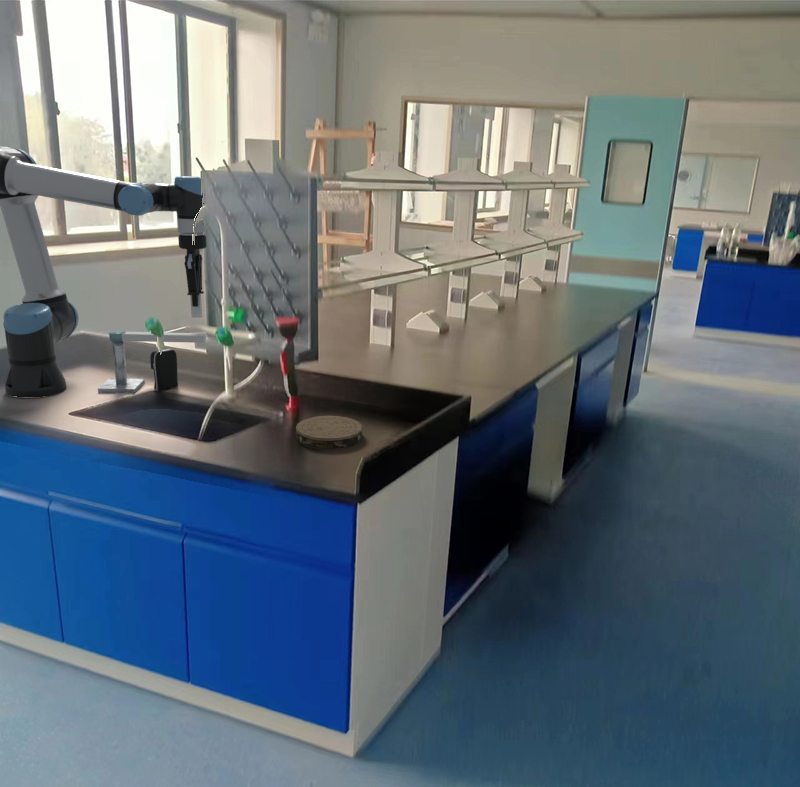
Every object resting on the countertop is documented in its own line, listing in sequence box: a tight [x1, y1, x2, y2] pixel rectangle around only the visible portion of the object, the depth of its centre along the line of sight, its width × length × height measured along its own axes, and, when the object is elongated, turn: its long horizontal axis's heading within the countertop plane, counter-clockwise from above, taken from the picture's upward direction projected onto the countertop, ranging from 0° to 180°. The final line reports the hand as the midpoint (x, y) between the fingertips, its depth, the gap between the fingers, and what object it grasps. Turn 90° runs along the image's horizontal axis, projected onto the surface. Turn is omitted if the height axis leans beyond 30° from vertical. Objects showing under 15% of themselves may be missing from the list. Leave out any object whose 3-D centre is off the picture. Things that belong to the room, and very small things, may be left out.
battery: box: [149, 348, 179, 392], centre depth 207 cm, size 7×4×11 cm, turn 142°
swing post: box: [97, 341, 146, 394], centre depth 206 cm, size 10×10×14 cm
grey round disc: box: [295, 415, 363, 450], centre depth 177 cm, size 16×16×3 cm
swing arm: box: [108, 330, 207, 344], centre depth 205 cm, size 26×4×2 cm, turn 93°
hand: (196, 316), depth 212 cm, fingers closed
